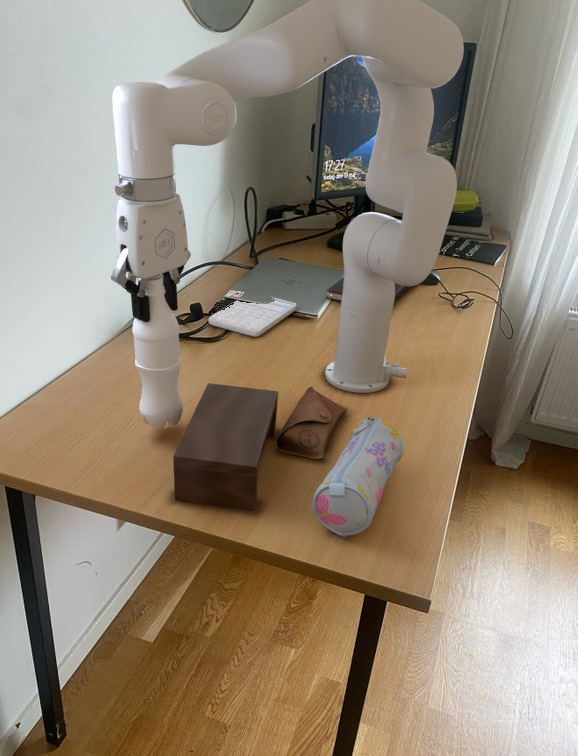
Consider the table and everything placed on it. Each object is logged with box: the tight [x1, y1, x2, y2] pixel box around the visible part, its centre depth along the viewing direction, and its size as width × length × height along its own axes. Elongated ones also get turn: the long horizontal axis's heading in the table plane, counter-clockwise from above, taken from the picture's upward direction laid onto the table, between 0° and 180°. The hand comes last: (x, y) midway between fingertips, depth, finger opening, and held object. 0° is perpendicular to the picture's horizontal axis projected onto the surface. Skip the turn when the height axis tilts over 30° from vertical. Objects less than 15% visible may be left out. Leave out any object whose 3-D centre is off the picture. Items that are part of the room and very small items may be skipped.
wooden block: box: [172, 382, 279, 512], centre depth 104 cm, size 12×22×8 cm, turn 170°
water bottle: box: [131, 274, 184, 431], centre depth 103 cm, size 7×7×25 cm
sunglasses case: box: [275, 386, 348, 460], centre depth 114 cm, size 18×7×7 cm
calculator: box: [207, 296, 297, 338], centre depth 155 cm, size 13×20×2 cm, turn 149°
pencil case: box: [312, 416, 404, 537], centre depth 97 cm, size 21×9×10 cm, turn 156°
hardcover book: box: [325, 276, 412, 304], centre depth 170 cm, size 16×23×2 cm
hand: (155, 312), depth 100 cm, fingers closed on water bottle, 4 cm apart
